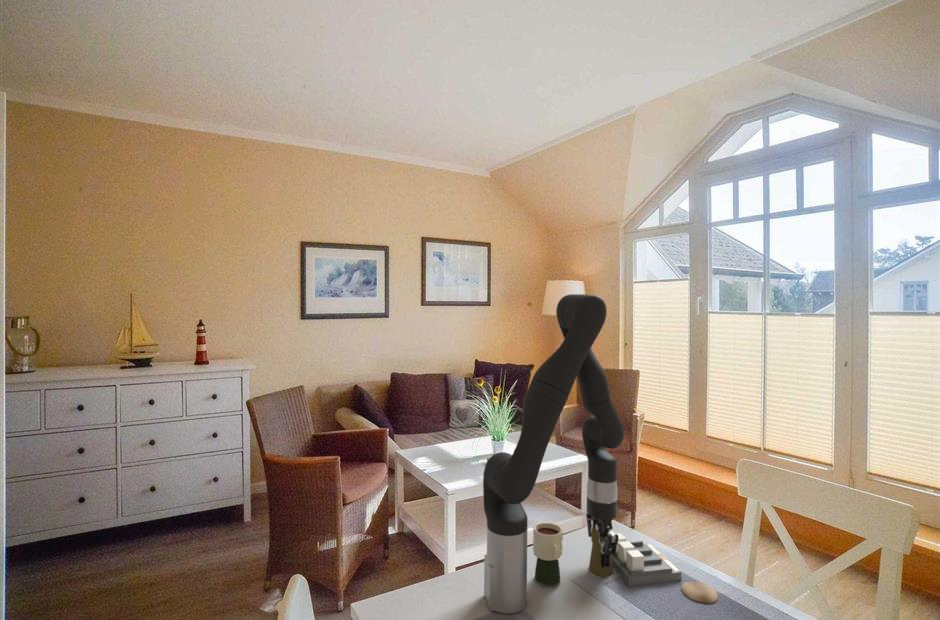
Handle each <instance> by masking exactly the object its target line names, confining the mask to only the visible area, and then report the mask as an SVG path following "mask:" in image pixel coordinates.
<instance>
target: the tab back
mask: <svg viewBox="0 0 940 620" xmlns="http://www.w3.org/2000/svg"><path fill="white" fill-rule="evenodd" d="M615 534H618V537H619V539H618V542H625V541H627V538H626V537H625V536H624V535H623V534H622V533H621V532H619V533H616V532H615ZM611 549H612V548H611ZM616 552H618V543H617V548H616Z"/></svg>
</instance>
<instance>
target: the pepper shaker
mask: <svg viewBox="0 0 940 620" xmlns="http://www.w3.org/2000/svg"><path fill="white" fill-rule="evenodd" d="M590 538H592V540H593V543H592V542H591V545H592V546H591V551H590V557H589V558H590V559H589V564H588V571H589V573H590V574H592V575H593V576H594V575H595V577H597V576H598V577H597V578H601V577H607V578H610V577H612V576H613V575H614V569H613V568H614V567H613V566H612V559H611V555H610V567H609V568H608V567H603V568H602V567H601V549H600V543H599V542H598V540H599V538H598V533H597V531H596V527H595V528H592V530H591V537H590ZM601 539H602V540H603V541H605V540H606V537H604V538H603V537H602V536H601ZM604 548H605V544H604ZM612 574H613V575H612ZM611 575H612V576H611ZM609 576H610V577H609Z"/></svg>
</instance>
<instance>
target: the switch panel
mask: <svg viewBox="0 0 940 620" xmlns="http://www.w3.org/2000/svg"><path fill="white" fill-rule="evenodd" d="M629 542H630V543H631V544H632V545H633V546H634V547H635V550H638V551H639V552H640V553H641V554H642V555H643V556H644V570H639V571H630V570H629V569H628V568H627V567H626V562H627V561H623V562H622V561H621V560H620V559H619V558H618V552H615V555H611V559H612V567H613V568H614V569H613V570H615V571H616V572H617V574H619V576H620V575H621V576H622V577H621V576H620V577H621V578H622V579H623V580H624V582H626V583H627V585H628V586H638V585H647V584H656V583H667V582H675V581H682V571H681V570H680V569H679V568H677V566H676V565H674V564H673V563H672V562H671V561H670V560H669V559H668V558H667V557H665V556H664V555H663V554H662V553H661V552H660V551H659V550H658V549H657V548H655V547H654V546H653V545H652V544H651V543H644V541H643V540H639V541H638V540H637V541H636V540H635V541H629Z"/></svg>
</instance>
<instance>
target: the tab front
mask: <svg viewBox="0 0 940 620" xmlns="http://www.w3.org/2000/svg"><path fill="white" fill-rule="evenodd" d="M626 567H627V568H628V569H629V570H630V571H639V570H644V556H643V555H642V554H641V553H640V552H639V551H638V550H631V551H627V562H626Z"/></svg>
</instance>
